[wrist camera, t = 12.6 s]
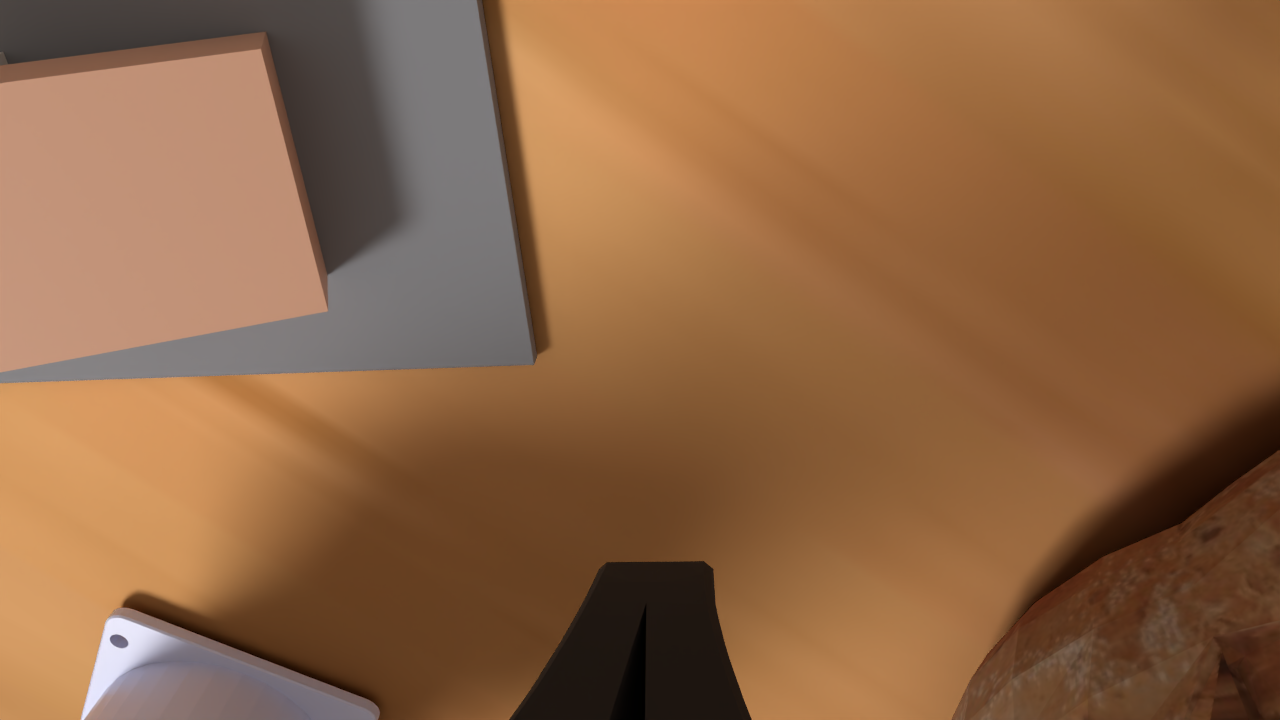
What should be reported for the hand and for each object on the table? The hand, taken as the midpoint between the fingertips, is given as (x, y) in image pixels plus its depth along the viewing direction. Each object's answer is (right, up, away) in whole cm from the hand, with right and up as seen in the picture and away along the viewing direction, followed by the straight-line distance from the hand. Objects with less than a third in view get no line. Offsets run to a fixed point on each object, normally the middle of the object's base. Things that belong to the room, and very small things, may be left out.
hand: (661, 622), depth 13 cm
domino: (-7, +7, +7) cm, 12 cm away
